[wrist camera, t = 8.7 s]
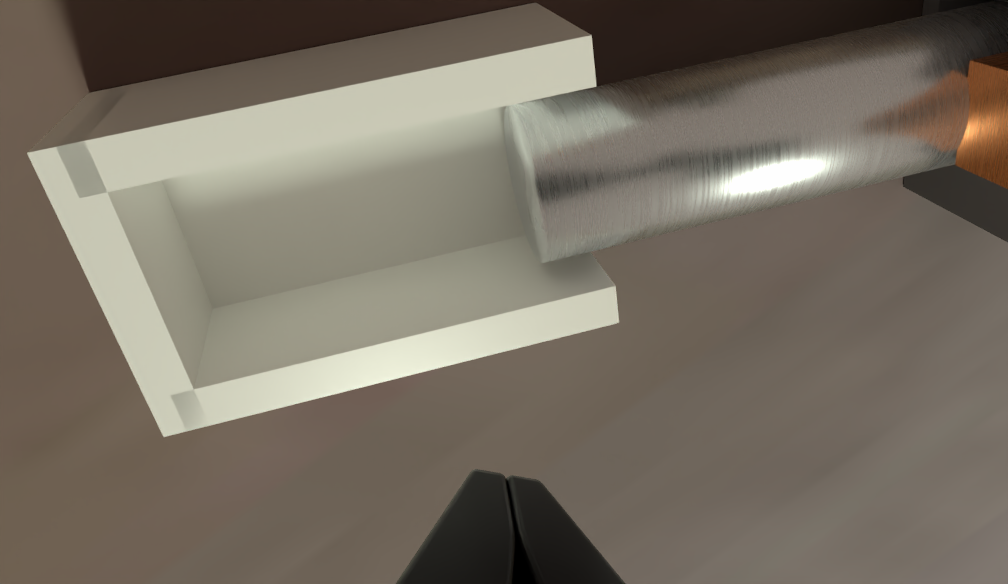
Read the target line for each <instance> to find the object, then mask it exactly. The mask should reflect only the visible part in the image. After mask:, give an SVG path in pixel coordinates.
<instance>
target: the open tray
mask: <svg viewBox="0 0 1008 584" xmlns="http://www.w3.org/2000/svg"><path fill="white" fill-rule="evenodd" d="M592 87H597V86H596V76H595V65H594V55H593V44H592V35H591V34H589V33H587V32H585V31H584V30H582V29H580V28H579V27H577V26H575V25H573V24H572V23H570V22H568V21H567V20H565V19H563V18H562V17H560V16H558V15H556V14H555V13H553V12H551V11H550V10H548V9H546V8H544V7H543V6H541V5H539V4H538V3H531V4H526V5H521V6H516V7H511V8H506V9H501V10H496V11H491V12H486V13H481V14H476V15H471V16H466V17H461V18H457V19H452V20H447V21H442V22H437V23H432V24H427V25H422V26H417V27H412V28H407V29H402V30H397V31H392V32H387V33H382V34H377V35H372V36H367V37H363V38H358V39H353V40H348V41H343V42H338V43H333V44H328V45H323V46H318V47H313V48H308V49H303V50H298V51H293V52H288V53H283V54H278V55H274V56H269V57H264V58H259V59H254V60H249V61H244V62H239V63H234V64H229V65H224V66H219V67H214V68H209V69H204V70H199V71H194V72H189V73H184V74H180V75H175V76H170V77H165V78H160V79H155V80H150V81H145V82H140V83H135V84H130V85H125V86H120V87H115V88H110V89H105V90H100V91H95V92H91V93H88V94H87V95H86V96H85V97H84V98H83V99H82V100H81V101H80V102H79V103H78V104H77V105H76V106H75V107H74V108H73V109H72V110H71V111H70V112H69V113H68V114H67V115H65V116H64V117H63V118H62V119H61V120H60V121H59V122H58V123H57V124H56V125H55V126H54V127H53V128H52V129H51V130H50V131H49V132H48V133H47V134H46V135H45V136H44V137H43V138H42V139H41V140H40V141H39V142H38V143H37V144H36V145H35V146H33V147H32V148H31V149H30V150H29V151H28V152H27V154H28V156H29V158H30V160H31V162H32V165H33V167H34V169H35V171H36V173H37V175H38V177H39V179H40V181H41V183H42V185H43V187H44V189H45V192H46V194H47V196H48V198H49V200H50V202H51V204H52V206H53V208H54V210H55V212H56V214H57V216H58V219H59V221H60V223H61V225H62V227H63V229H64V231H65V233H66V235H67V237H68V239H69V241H70V243H71V246H72V248H73V250H74V252H75V254H76V256H77V258H78V260H79V262H80V264H81V266H82V268H83V270H84V273H85V275H86V277H87V279H88V281H89V283H90V285H91V287H92V289H93V291H94V293H95V295H96V297H97V300H98V302H99V304H100V306H101V308H102V310H103V312H104V314H105V316H106V318H107V320H108V322H109V324H110V326H111V329H112V331H113V333H114V335H115V337H116V339H117V341H118V343H119V345H120V347H121V349H122V351H123V353H124V356H125V358H126V360H127V362H128V364H129V366H130V368H131V370H132V372H133V374H134V376H135V378H136V380H137V383H138V385H139V387H140V389H141V391H142V393H143V395H144V397H145V399H146V401H147V403H148V405H149V407H150V410H151V412H152V414H153V416H154V418H155V420H156V422H157V424H158V426H159V428H160V430H161V432H162V434H163V437H166V436H170V435H174V434H178V433H182V432H186V431H190V430H194V429H198V428H202V427H206V426H210V425H214V424H218V423H222V422H226V421H230V420H234V419H238V418H241V417H245V416H249V415H253V414H257V413H261V412H265V411H269V410H273V409H277V408H281V407H285V406H289V405H293V404H297V403H301V402H305V401H309V400H313V399H317V398H321V397H325V396H329V395H333V394H337V393H341V392H345V391H349V390H353V389H357V388H361V387H365V386H369V385H373V384H377V383H381V382H385V381H389V380H393V379H397V378H401V377H405V376H409V375H413V374H417V373H421V372H425V371H429V370H433V369H437V368H441V367H445V366H449V365H453V364H457V363H461V362H465V361H469V360H473V359H477V358H480V357H484V356H488V355H492V354H496V353H500V352H504V351H508V350H512V349H516V348H520V347H524V346H528V345H532V344H536V343H540V342H544V341H548V340H552V339H556V338H560V337H564V336H568V335H572V334H576V333H580V332H584V331H588V330H592V329H596V328H600V327H604V326H608V325H612V324H616V323H619V317H618V307H617V296H616V286H615V285H614V283H613V282H612V280H611V279H610V278H609V276H608V275H607V274H606V272H605V271H604V269H603V268H602V267H601V265H600V264H599V263H598V261H597V260H596V258H595V257H594V256H593V254H592V253H591V252H587V253H583V254H579V255H575V256H570V257H566V258H562V259H558V260H554V261H550V262H545V263H541V262H539V261H538V259H537V258H536V256H535V255H534V253H533V251H532V249H531V246H530V244H529V242H528V239H527V236H526V234H525V231H524V228H523V225H522V221H521V218H520V214H519V211H518V207H517V203H516V199H515V195H514V191H513V187H512V182H511V177H510V172H509V166H508V160H507V154H506V146H505V136H504V113H505V109H506V107H507V106H509V105H513V104H518V103H523V102H527V101H532V100H537V99H541V98H546V97H550V96H555V95H560V94H564V93H569V92H573V91H578V90H583V89H587V88H592Z"/></svg>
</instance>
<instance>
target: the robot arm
mask: <svg viewBox="0 0 1008 584" xmlns="http://www.w3.org/2000/svg"><path fill="white" fill-rule="evenodd" d="M396 584H625V583H624V582H623V580H622V579H621V578H620V577H619V575H618V574H617V573H616V572H615V571H614V569H613V568H612V567H611V566H610V565H609V563H608V562H607V561H606V560H605V559H604V557H603V556H602V555H601V554H600V553H599V551H598V550H597V549H596V548H595V546H594V545H593V544H592V543H591V542H590V540H589V539H588V538H587V537H586V536H585V534H584V533H583V532H582V531H581V530H580V528H579V527H578V526H577V525H576V524H575V522H574V521H573V520H572V519H571V517H570V516H569V515H568V514H567V513H566V511H565V510H564V509H563V508H562V507H561V505H560V504H559V503H558V502H557V501H556V499H555V498H554V497H553V496H552V495H551V493H550V492H549V491H548V490H547V488H546V487H545V486H544V485H543V484H542V483H541V482H540V481H539V480H536V479H531V478H525V477H519V476H513V475H512V476H508V477H507V478H505V476H504V475H503V474H501V473H496V472H490V471H484V470H478V469H475V470H472V471H471V472H470V474H469V475H468V477H467V478H466V479H465V481H464V482H463V484H462V485H461V487H460V488H459V490H458V491H457V493H456V494H455V496H454V497H453V499H452V500H451V502H450V503H449V505H448V506H447V508H446V509H445V511H444V512H443V514H442V515H441V517H440V518H439V520H438V521H437V523H436V524H435V526H434V527H433V529H432V530H431V532H430V533H429V535H428V536H427V538H426V539H425V541H424V542H423V544H422V545H421V547H420V548H419V550H418V551H417V553H416V554H415V556H414V557H413V559H412V560H411V562H410V563H409V565H408V566H407V568H406V569H405V571H404V572H403V574H402V575H401V577H400V578H399V580H398V581H397V583H396Z"/></svg>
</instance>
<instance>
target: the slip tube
mask: <svg viewBox="0 0 1008 584" xmlns="http://www.w3.org/2000/svg"><path fill="white" fill-rule="evenodd" d="M504 136H505V146H506V154H507V160H508V166H509V172H510V177H511V182H512V187H513V191H514V195H515V199H516V203H517V207H518V211H519V214H520V218H521V221H522V225H523V228H524V231H525V234H526V236H527V239H528V242H529V244H530V246H531V249H532V251H533V253H534V255H535V256H536V258H537V259H538V261H539V262H541V263H545V262H550V261H554V260H558V259H562V258H566V257H570V256H575V255H579V254H583V253H587V252H591V251H595V250H600V249H604V248H608V247H612V246H616V245H620V244H625V243H629V242H633V241H637V240H641V239H645V238H650V237H654V236H658V235H662V234H666V233H670V232H675V231H679V230H683V229H687V228H691V227H696V226H700V225H704V224H708V223H712V222H716V221H721V220H725V219H729V218H733V217H737V216H741V215H746V214H750V213H754V212H758V211H762V210H766V209H771V208H775V207H779V206H783V205H787V204H791V203H796V202H800V201H804V200H808V199H812V198H816V197H821V196H825V195H829V194H833V193H837V192H841V191H846V190H850V189H854V188H858V187H862V186H867V185H871V184H875V183H879V182H883V181H887V180H892V179H896V178H900V177H904V176H908V175H912V174H917V173H921V172H925V171H929V170H933V169H937V168H942V167H946V166H950V165H954V164H955V165H956V166H958V167H960V168H962V169H965V170H967V171H969V172H971V173H973V174H976V175H978V176H980V177H982V178H984V179H987V180H989V181H991V182H993V183H995V184H998V185H1000V186H1002V187H1004V188H1006V189H1008V0H995V1H990V2H985V3H981V4H976V5H972V6H967V7H962V8H958V9H953V10H948V11H944V12H939V13H935V14H930V15H925V16H921V17H916V18H911V19H907V20H902V21H897V22H893V23H888V24H884V25H879V26H874V27H870V28H865V29H860V30H856V31H851V32H847V33H842V34H837V35H833V36H828V37H823V38H819V39H814V40H810V41H805V42H800V43H796V44H791V45H786V46H782V47H777V48H773V49H768V50H763V51H759V52H754V53H749V54H745V55H740V56H736V57H731V58H726V59H722V60H717V61H712V62H708V63H703V64H699V65H694V66H689V67H685V68H680V69H675V70H671V71H666V72H661V73H657V74H652V75H648V76H643V77H638V78H634V79H629V80H624V81H620V82H615V83H611V84H606V85H601V86H597V87H592V88H587V89H583V90H578V91H574V92H569V93H564V94H560V95H555V96H550V97H546V98H541V99H537V100H532V101H527V102H523V103H518V104H513V105H509V106H507V107H506V109H505V113H504Z"/></svg>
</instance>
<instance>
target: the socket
mask: <svg viewBox="0 0 1008 584" xmlns="http://www.w3.org/2000/svg"><path fill="white" fill-rule="evenodd" d="M990 1H995V0H924V2H923V11H922V16H925V15H930V14H935V13H939V12H944V11H948V10H953V9H958V8H962V7H967V6H972V5H976V4H981V3H985V2H990ZM903 187H905V188H907V189H909V190H911V191H913V192H915V193H916V194H918V195H920V196H922V197H924V198H926V199H928V200H930V201H931V202H933V203H935V204H937V205H939V206H941V207H943V208H945V209H946V210H948V211H950V212H952V213H954V214H956V215H958V216H960V217H961V218H963V219H965V220H967V221H969V222H971V223H973V224H975V225H976V226H978V227H980V228H982V229H984V230H986V231H988V232H990V233H991V234H993V235H995V236H997V237H999V238H1001V239H1003V240H1005V241H1007V242H1008V189H1006V188H1004V187H1002V186H1000V185H998V184H995V183H993V182H991V181H989V180H987V179H984V178H982V177H980V176H978V175H976V174H973V173H971V172H969V171H967V170H965V169H962V168H960V167H958V166H956V165H955V164H954V165H950V166H946V167H942V168H937V169H933V170H929V171H925V172H921V173H917V174H912V175H908V176H904V186H903Z"/></svg>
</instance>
